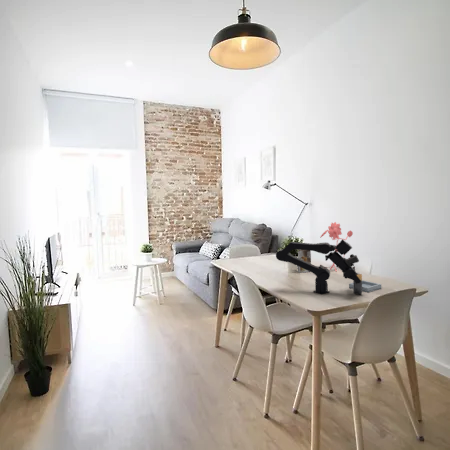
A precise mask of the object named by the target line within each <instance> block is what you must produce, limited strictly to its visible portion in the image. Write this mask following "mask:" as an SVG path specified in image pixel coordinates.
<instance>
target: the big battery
mask: <svg viewBox="0 0 450 450" xmlns="http://www.w3.org/2000/svg"><path fill="white" fill-rule="evenodd" d="M356 275H357V276H358V278H359V279H360V280H361V282H360V283H359V282H357V281H354V280H352V281H353V282H352V283H353V289H352V290H353V294H356V295H361V294H363V291H362V280H363V275H362V273H360V272H356Z"/></svg>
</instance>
